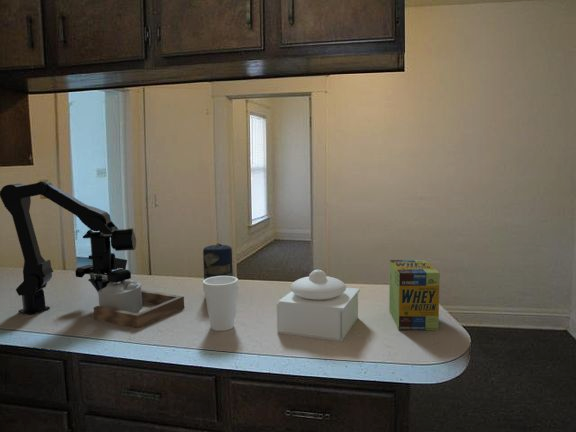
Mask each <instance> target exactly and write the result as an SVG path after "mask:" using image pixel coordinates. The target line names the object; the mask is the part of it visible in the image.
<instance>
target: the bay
mask: <svg viewBox="0 0 576 432" xmlns="http://www.w3.org/2000/svg"><path fill="white" fill-rule="evenodd" d="M141 293H142V303H146V304H151V305H155V306H153V307H152V306H151V307H149V308H148V309H145V310H143V311H140V312H135V313H133V312H128V311H122V310H117V309H112V308H106V307H101V306H99V305H97V306H94V307H93V318H94V320H98V321H102V322H108V323H112V324H117V325H121V326H127V327H132V328H136V329H140V328H142V327H144V326H146V325H149V324H151V323H153V322H155V321H158V320H160V319H162V318H164V317H166V316H168V315H171V314H173V313H175V312H177V311H179V310H181V309H184V308H185V296H183V295H176V294H171V293H164V292H158V291H157V292H156V291H151V290H146V289H145V290H143V289H141Z"/></svg>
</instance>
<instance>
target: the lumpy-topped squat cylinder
mask: <svg viewBox="0 0 576 432" xmlns="http://www.w3.org/2000/svg"><path fill="white" fill-rule="evenodd" d="M141 290H142V284H141V283H140V282H139V281H136V280H133V279H131V280H129V279H127V280H124V281H121V282H118V283H114V282H109V283H108V284H107V286H106V287H105V288H103V289H100V290H99V291H98V292H97V294H98V306H101V307H106V308H112V309H117V310H122V311H128V312H133V313H138V312H139V311H141V310H142V308H143V302H142V293H141Z"/></svg>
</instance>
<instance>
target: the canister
mask: <svg viewBox="0 0 576 432" xmlns="http://www.w3.org/2000/svg"><path fill="white" fill-rule="evenodd" d="M202 252H203V253H202V256H203V257H202V259H203V260H202V261H203V280H205V279H207V278H210V277H215V276H233V277H234V272H233V271H234V269H233V249H232V247H231V246H230V245H227V244H221V243H216V244H214V245H213V244H212V245H208V246H205V247H204V248H203V250H202Z"/></svg>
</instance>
